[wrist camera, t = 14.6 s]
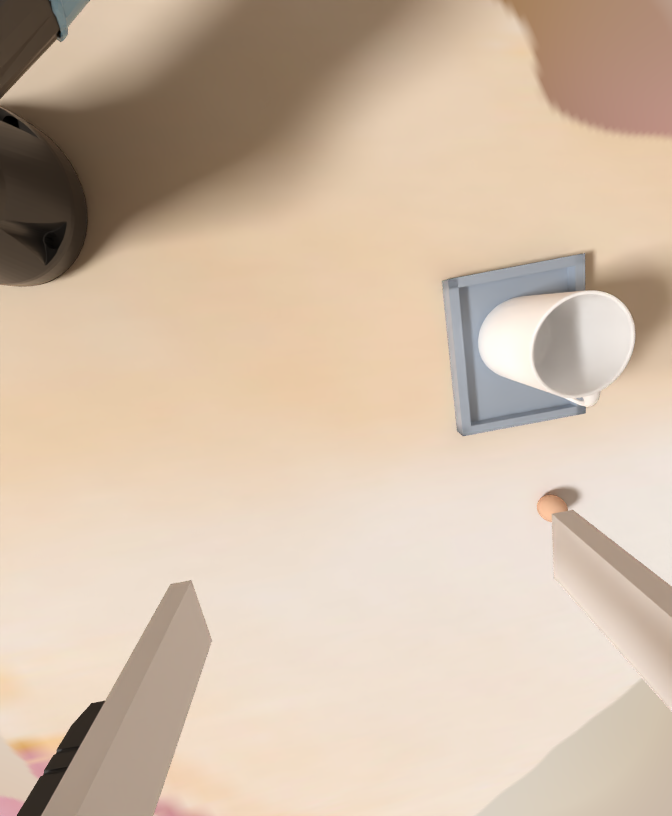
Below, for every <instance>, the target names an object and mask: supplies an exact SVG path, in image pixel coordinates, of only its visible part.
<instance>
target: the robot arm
mask: <svg viewBox="0 0 672 816" xmlns="http://www.w3.org/2000/svg"><path fill="white" fill-rule="evenodd" d="M89 1H90V0H0V99H1V98H2V97H3V96H4V94H5V93H6V92H7V91H8V90H9V89H10V88H11V87H12V86H13V85H14V84H15V83H16V82H17V81H18V80H19V79H20V78H21V77H22V75H23V74H24V73H25V72H26V71H27V70H28V69H29V68H30V67H31V66H32V65H33V64H34V63H35V62H36V61H37V60H38V59H39V58H40V56H41V55H42V54H43V53H44V52H45V51H46V50H47V49H48V48H49V47H50V46H51V45H52V44H53V43H54V42H55V41H56V40H59V41H60V42H62V41H63V40H64V39H65V38H66V36H67V35H68V26H69V25H70V24H71V23H72V21H73V20H74V19H75V18H76V17H77V15H78V14H79V13H80V12H81V10H82V9H83V8H84V7H85V6H86V4H87V3H88V2H89ZM86 229H87V208H86V202H85V197H84V193H83V190H82V187H81V184H80V181H79V179H78V177H77V175H76V173H75V171H74V169H73V167H72V165H71V164H70V162H69V161H68V159H67V158H66V156H65V155H64V154H63V152H62V151H61V150H60V149H59V148H58V146H57V145H56V144H55V143H54V142H53V141H52V140H51V139H50V138H49V137H47V136H46V135H45V134H44V133H43V132H41V131H40V130H38V129H37V128H36V127H34V126H33V125H31V124H30V123H28V122H26V121H25V120H23V119H22V118H20V117H19V116H17V115H16V114H14V113H12V112H10V111H8V110H6V109H4V108H2V107H0V285H9V286H34V285H39V284H43V283H46V282H48V281H51V280H53V279H55V278H57V277H58V276H60V275H61V274H62V273H64V272H65V271H66V270H67V269H68V268H69V267H70V266H71V265H72V264H73V262H74V261H75V259H76V258H77V256H78V255H79V253H80V251H81V248H82V246H83V243H84V239H85V235H86ZM552 540H553V571H554V579H555V580H556V581H557V582H558V583H559V584H560V586H561V587H562V588H563V589H564V590H565V591H566V592H567V594H568V595H569V596H570V597H571V598H572V599H573V600H574V601H575V603H576V604H577V605H578V606H579V607H580V608H581V609H582V611H583V612H584V613H585V614H586V615H587V616H588V617H589V618H590V620H591V621H592V622H593V623H594V624H595V625H596V626H597V628H598V629H599V630H600V631H601V632H602V633H603V634H604V635H605V637H606V638H607V639H608V640H609V641H610V642H611V643H612V645H613V646H614V647H615V648H616V649H617V650H618V651H619V652H620V654H621V655H622V656H623V657H624V658H625V659H626V660H627V662H628V663H629V664H630V665H631V666H632V667H633V668H634V669H635V671H636V672H637V673H638V674H639V675H640V676H641V677H642V679H643V680H644V681H645V682H646V683H647V684H648V685H649V686H650V688H651V689H652V690H653V691H654V692H655V693H656V694H657V696H658V697H659V698H660V699H661V700H662V701H663V702H664V703H665V705H666V706H667V707H668V708H669V709H670V710H671V711H672V586H670V585H669V584H668V583H666V582H665V581H664V580H663V579H661V578H660V577H659V576H657V575H656V574H655V573H653V572H652V571H651V570H650V569H648V568H647V567H646V566H644V565H643V564H642V563H641V562H639V561H638V560H637V559H635V558H634V557H633V556H632V555H630V554H629V553H628V552H626V551H625V550H624V549H623V548H621V547H620V546H619V545H617V544H616V543H615V542H614V541H612V540H611V539H610V538H608V537H607V536H606V535H605V534H603V533H602V532H601V531H599V530H598V529H597V528H596V527H594V526H593V525H592V524H590V523H589V522H588V521H587V520H585V519H584V518H583V517H581V516H580V515H579V514H578V513H576V512H575V511H574V510H570V511H564V512H559V513H553V514H552ZM211 642H212V639H211V636H210V633H209V630H208V627H207V625H206V622H205V619H204V616H203V613H202V610H201V607H200V604H199V601H198V598H197V595H196V592H195V589H194V586H193V584H192V581H185V582H180V583H174V584H170V586H169V588H168V590H167V591H166V593H165V595H164V597H163V599H162V600H161V602H160V604H159V606H158V608H157V609H156V611H155V613H154V615H153V616H152V618H151V620H150V622H149V624H148V625H147V627H146V629H145V631H144V633H143V634H142V636H141V638H140V640H139V642H138V643H137V645H136V647H135V649H134V650H133V652H132V654H131V656H130V658H129V659H128V661H127V663H126V665H125V667H124V668H123V670H122V672H121V674H120V676H119V677H118V679H117V681H116V683H115V684H114V686H113V688H112V690H111V692H110V693H109V695H108V697H107V699H106V701H101V702H96V703H91V704H90V706H89V707H88V708H87V709H86V710H85V711H84V712H83V713H82V714H81V715H80V717H79V718H78V719H77V720H76V721H75V722H74V723H73V724H72V726H71V727H70V729H69V730H68V732H67V734H66V735H65V737H64V739H63V740H62V742H61V744H60V745H59V747H58V749H57V753H56V754H55V755H53V757H52V758H51V760H50V762H49V763H48V765H47V767H46V768H45V770H44V774H43V776H41V777H40V778H39V780H38V781H37V783H36V785H35V786H34V788H33V790H32V791H31V793H30V795H29V796H28V798H27V800H26V801H25V803H24V804H23V806H22V808H21V809H20V811H19V813H18V814H17V816H153V815H154V812H155V809H156V806H157V803H158V800H159V797H160V794H161V791H162V788H163V785H164V782H165V779H166V776H167V773H168V770H169V767H170V764H171V761H172V758H173V755H174V752H175V749H176V746H177V743H178V740H179V737H180V734H181V731H182V728H183V725H184V722H185V719H186V716H187V714H188V711H189V708H190V705H191V702H192V699H193V696H194V693H195V690H196V687H197V684H198V681H199V678H200V675H201V672H202V669H203V666H204V663H205V660H206V657H207V654H208V651H209V648H210V645H211Z"/></svg>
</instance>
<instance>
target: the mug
mask: <svg viewBox="0 0 672 816" xmlns="http://www.w3.org/2000/svg"><path fill="white" fill-rule="evenodd" d="M634 345H635V325H634V321H633V318H632V315H631V313H630V312H629V310H628V308H627V307H626V306H625V305H624V303H623V302H621V301H620V300H619V299H618V298H616V297H615V296H613V295H611V294H609V293H606V292H602V291H596V290H586V291H575V292H564V293H553V294H542V295H531V296H521V297H516V298H512V299H509V300H507V301H505V302H503V303H501V304H499V305H498V306H496V307H495V308H494V309H493V310H492V311H491V312H490V313H489V314H488V315H487V317H486V318H485V320H484V321H483V323H482V326H481V328H480V331H479V336H478V348H479V353H480V356H481V358H482V360H483V362H484V363H485V365H486V366H487V367H488V368H489V369H490V370H492V371H493V372H494V373H496V374H498V375H500V376H502V377H505V378H508V379H511V380H513V381H516V382H519V383H522V384H525V385H528V386H531V387H534V388H537V389H540V390H543V391H546V392H548V393H551V394H554V395H557V396H560V397H563V398H565V399H567V400H569V401H572V402H574V403H576V404H578V405H581V406H585V407H590V406H593V405H594V404H596V402H597V401H598V399H599V397H600V392H601V390H603V389H605V388H606V387H607V386H609V385H610V384H611V383H613V382H614V381H615V380H616V379H617V378H618V377H619V375H620V374H621V373H622V372H623V370H624V369H625V368H626V366H627V364H628V362H629V360H630V358H631V355H632V353H633V349H634ZM581 397H583V399H584V400H578V399H576V398H581Z"/></svg>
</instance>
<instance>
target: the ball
mask: <svg viewBox="0 0 672 816" xmlns="http://www.w3.org/2000/svg"><path fill="white" fill-rule="evenodd" d="M537 510H538V513H539V514H540V516H541V517H542V518H543V519H545V520H547V521H549V522H552V514H553V513H559V512H564V511H568V508H567V505H566V503H565V502H564V501H563V500H562V499H561V498H559V497H557V496H554V495H546V496H544V497H542V498H541V499H540V500H539V501H538V504H537Z"/></svg>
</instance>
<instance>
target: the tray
mask: <svg viewBox="0 0 672 816" xmlns="http://www.w3.org/2000/svg"><path fill="white" fill-rule="evenodd" d="M442 286H443V296H444V305H445V315H446V325H447V335H448V345H449V355H450V365H451V375H452V384H453V394H454V404H455V414H456V424H457V431H458V432H459V433H460V434H461V435H462V436H466V435H472V434H477V433H482V432H488V431H493V430H498V429H504V428H509V427H515V426H520V425H525V424H531V423H536V422H541V421H547V420H552V419H557V418H563V417H568V416H574V415H579V414H584V413H586V407H585V406H581V405H578V404H576V403H574V402H572V401H569V400H567V399H565V398H563V397H560V396H557V395H554V394H551V393H548V392H546V391H543V390H540V389H537V388H534V387H531V386H528V385H525V384H522V383H519V382H516V381H513V380H511V379H508V378H505V377H502V376H500V375H498V374H496V373H494V372H493V371H492V370H490V369H489V368H488V367H487V366H486V365H485V363H484V362H483V360H482V358H481V356H480V353H479V348H478V336H479V331H480V328H481V326H482V323H483V321H484V320H485V318H486V317H487V315H488V314H489V313H490V312H491V311H492V310H493V309H494V308H495V307H496V306H498V305H499V304H501V303H503V302H505V301H507V300H509V299H512V298H516V297H521V296H531V295H542V294H553V293H564V292H575V291H585V253H584V254H578V255H573V256H568V257H563V258H557V259H552V260H547V261H542V262H536V263H531V264H526V265H521V266H515V267H510V268H505V269H500V270H494V271H489V272H484V273H478V274H473V275H468V276H463V277H457V278H452V279H447V280H444V281H442ZM576 399H578V400H584V399H583V397H581V398H576Z"/></svg>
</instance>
